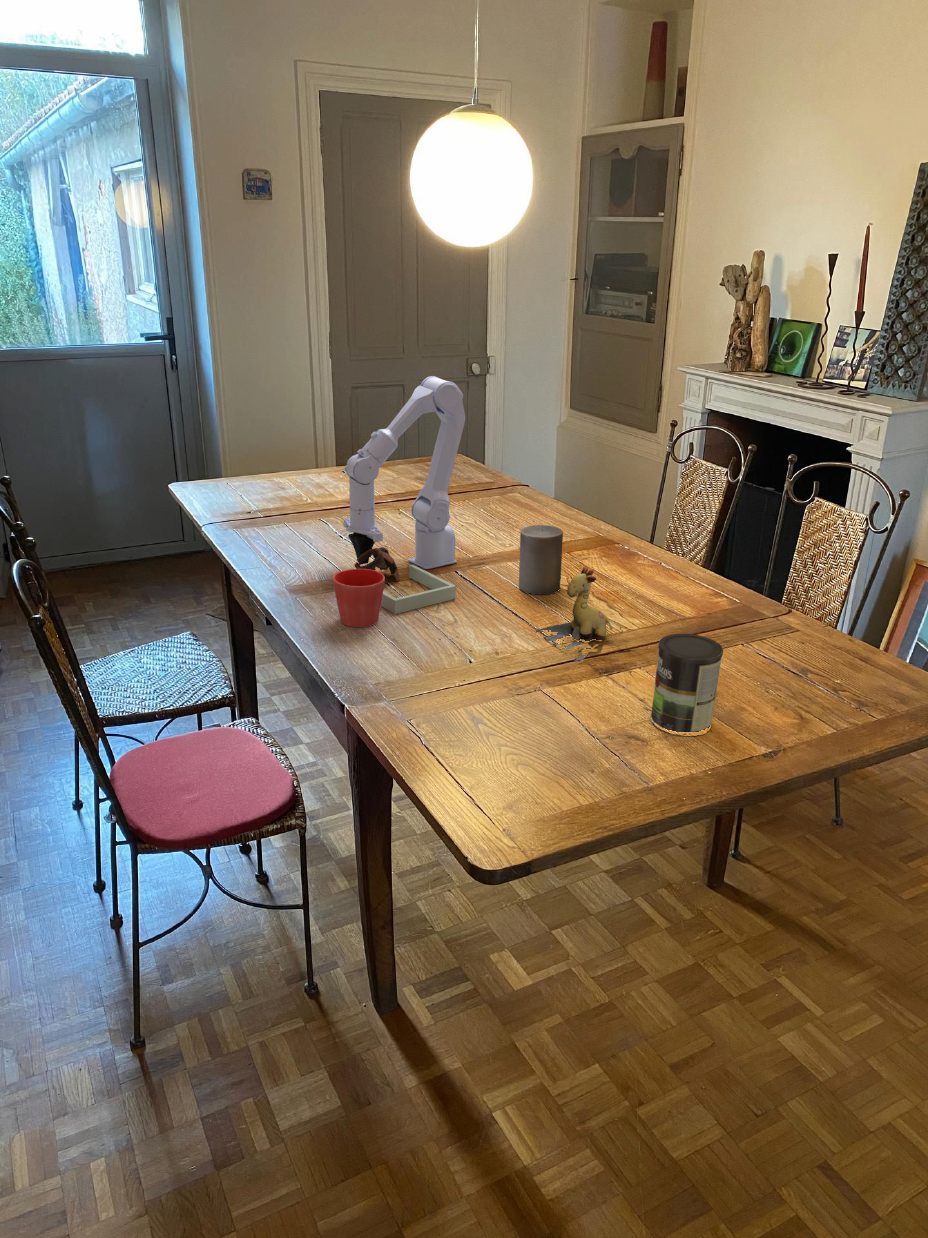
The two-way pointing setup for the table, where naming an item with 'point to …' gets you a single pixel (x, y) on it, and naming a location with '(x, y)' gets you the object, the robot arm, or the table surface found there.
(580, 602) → the stuffed giraffe
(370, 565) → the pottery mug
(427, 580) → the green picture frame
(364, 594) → the flower pot
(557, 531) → the pillar candle
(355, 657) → the table surface
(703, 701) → the coffee can
